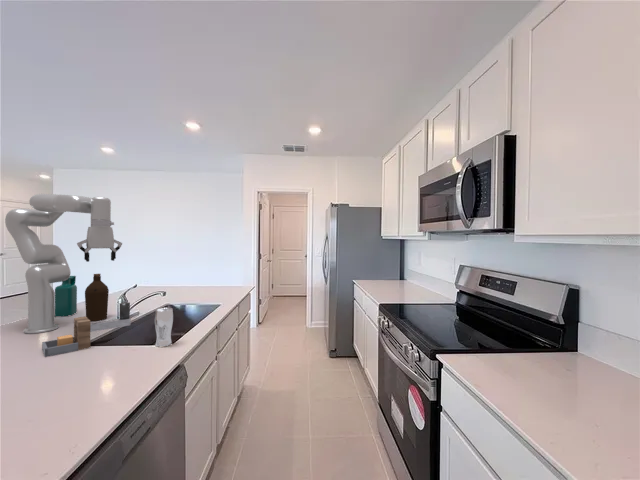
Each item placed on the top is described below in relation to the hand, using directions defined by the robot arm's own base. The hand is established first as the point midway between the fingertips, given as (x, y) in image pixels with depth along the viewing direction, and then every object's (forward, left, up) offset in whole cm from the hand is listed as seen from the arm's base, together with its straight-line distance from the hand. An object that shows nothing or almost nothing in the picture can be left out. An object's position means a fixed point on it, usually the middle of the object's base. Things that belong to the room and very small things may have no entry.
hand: (100, 260), depth 143 cm
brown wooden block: (+12, -8, -34) cm, 37 cm away
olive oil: (-33, +5, -34) cm, 48 cm away
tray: (+12, -15, -34) cm, 40 cm away
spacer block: (+12, -12, -32) cm, 36 cm away
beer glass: (+34, +16, -34) cm, 51 cm away
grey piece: (+12, 0, -29) cm, 31 cm away
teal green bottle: (-57, -5, -34) cm, 67 cm away
